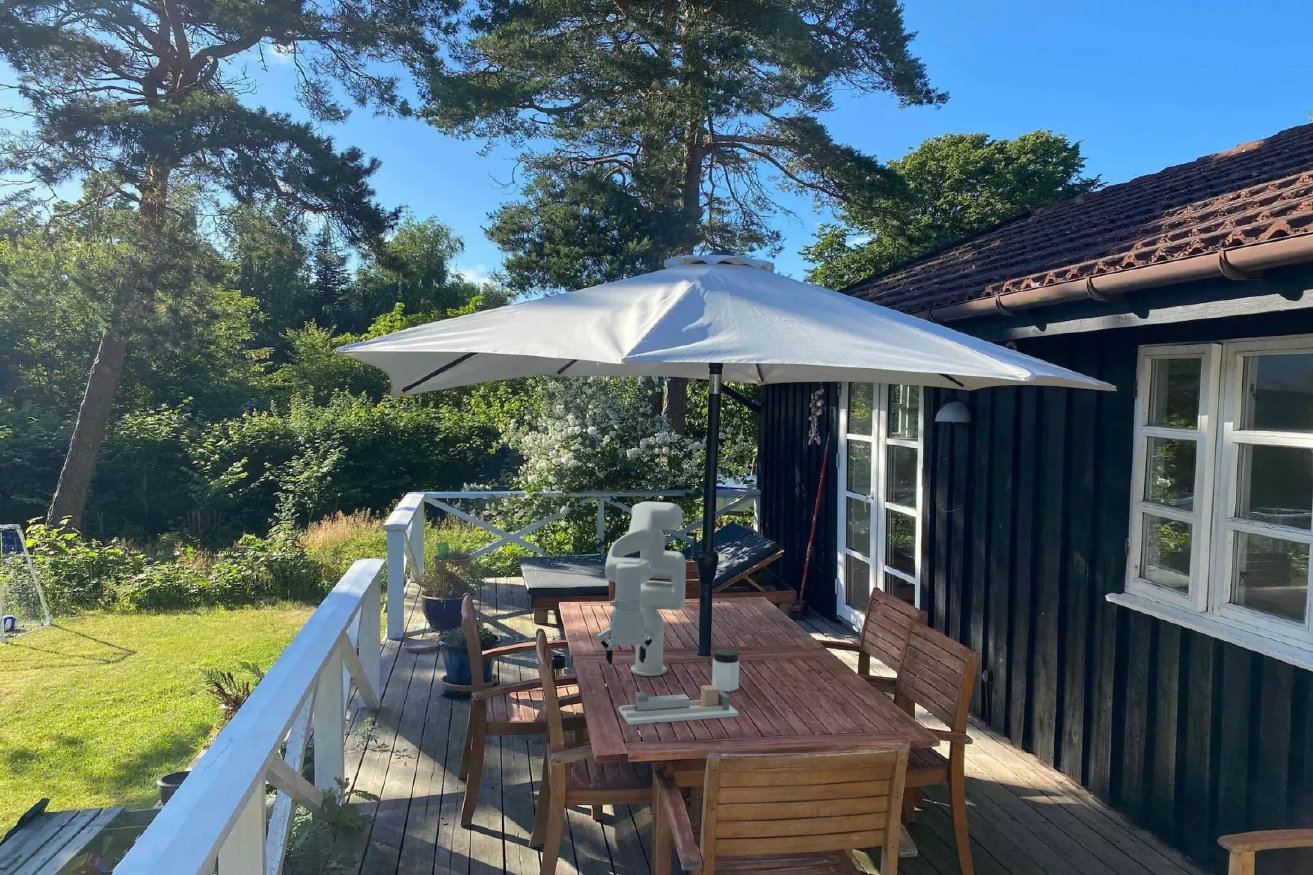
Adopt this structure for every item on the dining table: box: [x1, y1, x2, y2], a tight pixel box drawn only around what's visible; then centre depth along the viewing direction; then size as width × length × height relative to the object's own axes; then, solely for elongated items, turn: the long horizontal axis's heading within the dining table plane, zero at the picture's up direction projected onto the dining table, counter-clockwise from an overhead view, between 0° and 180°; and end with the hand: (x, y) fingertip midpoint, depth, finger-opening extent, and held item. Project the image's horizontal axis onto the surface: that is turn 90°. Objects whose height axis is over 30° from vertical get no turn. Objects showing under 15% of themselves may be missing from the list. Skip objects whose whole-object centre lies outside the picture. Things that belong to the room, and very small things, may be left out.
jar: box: [711, 648, 740, 693], centre depth 285 cm, size 9×8×12 cm
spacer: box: [700, 684, 719, 707], centre depth 262 cm, size 4×4×6 cm
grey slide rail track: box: [618, 690, 739, 726], centre depth 259 cm, size 12×34×5 cm, turn 107°
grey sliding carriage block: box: [634, 691, 691, 712], centre depth 258 cm, size 4×16×5 cm, turn 107°
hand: (625, 662), depth 254 cm, fingers open, 9 cm apart
